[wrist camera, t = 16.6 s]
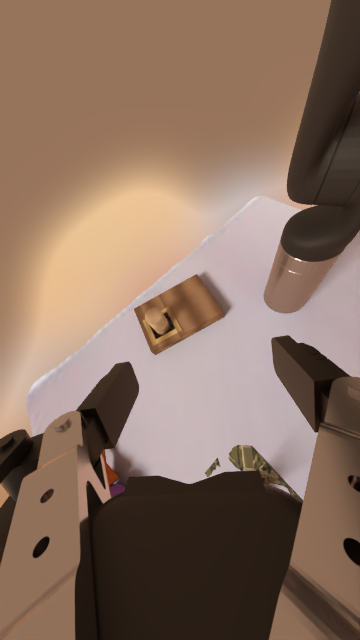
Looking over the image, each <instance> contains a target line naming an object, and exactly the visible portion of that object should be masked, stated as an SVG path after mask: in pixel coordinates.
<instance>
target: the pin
mask: <svg viewBox="0 0 360 640" xmlns="http://www.w3.org/2000/svg"><path fill="white" fill-rule="evenodd" d="M145 320H146V321H147V322H148V323H149V324H150V326H151V327H152V328H153V329H154V330H155V331H156V332H157V333H158V334H159V335H160V336H163V335H165V334H167V333H169V332H170V331H172V326H171V325H170V323H169V322H168V320H167V319H166V317H165V316H164V315H163V313H162V312H161V310H160V309H159V308H156V307H154V308H150V309H149V310H148V311H147V312H146V314H145Z"/></svg>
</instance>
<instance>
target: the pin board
mask: <svg viewBox="0 0 360 640" xmlns="http://www.w3.org/2000/svg"><path fill="white" fill-rule="evenodd" d="M154 307H156V308H159V309H160V310H161V312H162V313H163V315H164V316H165V317H166V319H168V318H169V317H170V319H171V321H172V323H173V324H174V326H175V328H176V329H174V330H172V331H170V332H169V333H167V334H165V335H163V336H161V337H159V338H157V336H156V334H155V331H154V329H153V328H152V327H151V326H150V324H149V323H148V322H147V321H146V320H145V314H146V312H147V311H148V310H149V309H150V308H154ZM134 311H135V313H136V315H137V318H138V320H139V323H140V325H141V328H142V330H143V333H144V335H145V338H146V340H147V342H148V345H149V347H150V350H151V352H152V353H154V354H155V355H156V354H158V353H160V352H162V351H164V350H166V349H167V348H169V347H171V346H173V345H175V344H176V343H178V342H180V341H182V340H184V339H185V338H187V337H189V336H191V335H193V334H194V333H196V332H198V331H200V330H202V329H204V328H205V327H207V326H209V325H211V324H213V323H214V322H216V321H218V320H220V319H222V318H223V317H224V311H223V310H222V308H221V307H220V305H219V304H218V303H217V301H216V300H215V299H214V297H213V296H212V294H211V293H210V292H209V290H208V289H207V288H206V286H205V285H204V283H203V282H202V281H201V279H200V278H199V277H198V275H197V274H196V275H194V276H193V277H191V278H189V279H187V280H185V281H184V282H182V283H180V284H178V285H176V286H175V287H173V288H171V289H169V290H167V291H165V292H164V293H162V294H160V295H158V296H156V297H155V298H153V299H151V300H149V301H147V302H146V303H144V304H142V305H140V306H138V307H137V308H135V309H134Z"/></svg>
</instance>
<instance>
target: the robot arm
mask: <svg viewBox="0 0 360 640" xmlns="http://www.w3.org/2000/svg"><path fill="white" fill-rule="evenodd" d="M359 92H360V0H331V5H330V9H329V14H328V18H327V23H326V27H325V31H324V36H323V40H322V44H321V48H320V52H319V56H318V60H317V64H316V67H315V71H314V75H313V79H312V83H311V86H310V90H309V94H308V98H307V102H306V105H305V109H304V113H303V117H302V120H301V124H300V128H299V131H298V135H297V139H296V143H295V147H294V150H293V154H292V158H291V163H290V167H289V172H288V179H287V192H288V196H289V198H290V199H291V200H292V201H294V202H297V203H301V204H307V205H312V204H313V205H318V206H314V207H311V208H307V209H305V210H302V211H300V212H298V213H297V214H295V215H294V216H292V217H291V218H290V219H289V221H288V222H287V223H286V225H285V227H284V230H283V233H282V236H281V240H280V243H279V246H278V250H277V253H276V256H275V259H274V263H273V266H272V269H271V272H270V276H269V279H268V282H267V285H266V289H265V292H264V300H265V302H266V304H267V305H268V306H269V307H270V308H271V309H273V310H275V311H277V312H281V313H292V312H295V311H297V310H299V309H300V308H301V307H303V305H304V304H305V302H306V301H307V300H308V298H309V297H310V296H311V294H312V293H313V292H314V290H315V289H316V287H317V286H318V285H319V283H320V282H321V281H322V279H323V278H324V276H325V275H326V274H327V272H328V271H329V270H330V268H331V267H332V265H333V264H334V262H335V261H336V260H337V258H338V257H339V256H340V254H341V253H342V251H343V250H344V249H345V247H346V246H347V245H348V244H349V243H350V242H351V241H352V239H353V238H354V237H355V236H356V234H357V233H358V232H359V230H360V93H359ZM271 343H272V353H273V363H274V368H275V371H276V374H277V376H278V377H279V379H280V380H281V382H282V383H283V385H284V386H285V388H286V389H287V391H288V392H289V394H290V395H291V397H292V398H293V400H294V402H295V403H296V405H297V406H298V408H299V409H300V411H301V412H302V414H303V415H304V417H305V418H306V420H307V421H308V423H309V424H310V426H311V427H312V429H313V430H314V432H318V436H317V441H316V446H315V450H314V455H313V459H312V464H311V469H310V473H309V478H308V482H307V487H306V491H305V496H304V501H303V502H302V501H300V500H299V499H297V498H296V497H294V496H293V495H291V494H289V493H287V492H285V491H283V490H281V489H279V488H276V487H273V486H271V485H267V484H263V480H262V477H261V473H260V470H255V471H236V472H223V473H221V474H218V475H215V476H212V477H210V478H207V479H204V480H201V481H199V482H196V483H193V484H186V483H182V482H179V481H175V480H172V479H168V478H165V477H161V476H143V477H129V478H128V482H127V485H126V488H125V491H123V492H121V493H119V494H117V495H115V496H113V497H112V498H111V495H110V490H109V485H108V480H107V475H106V470H105V464H104V459H103V457H102V455H101V454H102V452H103V449H112V448H115V446H116V444H117V441H118V439H119V437H120V434H121V432H122V430H123V428H124V425H125V423H126V421H127V419H128V416H129V414H130V412H131V409H132V407H133V405H134V403H135V400H136V398H137V396H138V393H139V384H138V381H137V379H136V376H135V373H134V370H133V368H132V365H131V363H130V362H124V363H118V364H115V365H114V367H113V368H112V369H111V371H110V372H109V373H108V374H107V375H106V376H105V377H103V378H102V379H101V380H100V381H99V382H98V384H97V385H96V387H94V389H93V390H92V391H91V393H90V394H89V395H88V396H87V397H86V399H85V400H84V401H83V402H82V404H81V405H80V406H79V407H78V409H77V410H76V411H71V412H68V413H66V414H64V415H62V416H60V417H59V418H57V419H56V420H54V421H53V422H52V423H51V424H50V425H49V426H48V427H47V429H46V430H45V432H44V433H42V434H39V435H37V436H34V437H32V438H30V436H29V435H28V433H27V432H26V430H17V431H15V432H12V433H10V434H8V435H6V436H5V437H3V438H2V439H0V484H1V485H2V486H3V488H4V489H5V490H6V491H7V493H8V494H9V495H10V496H9V497H8V499H7V500H6V501H5V503H4V504H3V505H2V507H1V508H0V640H360V378H358V377H351V376H349V375H348V374H347V373H346V372H344V371H343V370H342V369H340V368H339V367H338V366H337V365H335V364H334V363H333V362H332V361H330V360H329V359H327V358H326V357H325V356H324V355H323V354H321V353H320V352H319V351H318V350H316V349H315V348H314V347H312V346H309V345H307V344H304V343H297V342H296V341H294V340H293V339H292V338H291V337H290V336H288V335H286V336H280V337H275V338H272V340H271Z"/></svg>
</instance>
